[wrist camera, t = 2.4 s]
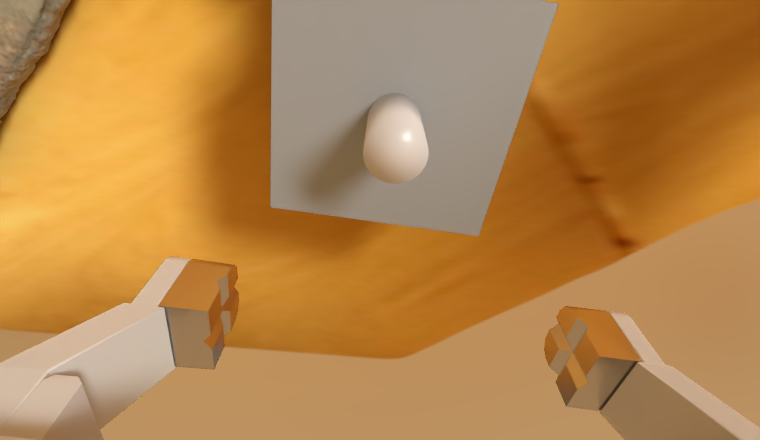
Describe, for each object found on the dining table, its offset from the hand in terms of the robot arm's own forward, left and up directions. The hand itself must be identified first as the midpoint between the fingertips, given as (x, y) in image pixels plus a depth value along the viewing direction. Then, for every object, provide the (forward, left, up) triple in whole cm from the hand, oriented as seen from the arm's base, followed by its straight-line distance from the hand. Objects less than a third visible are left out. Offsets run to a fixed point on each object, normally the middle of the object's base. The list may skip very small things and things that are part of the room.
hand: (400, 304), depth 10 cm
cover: (0, 0, -27) cm, 27 cm away
